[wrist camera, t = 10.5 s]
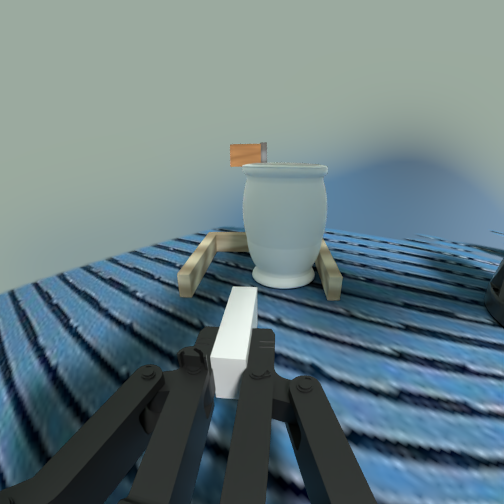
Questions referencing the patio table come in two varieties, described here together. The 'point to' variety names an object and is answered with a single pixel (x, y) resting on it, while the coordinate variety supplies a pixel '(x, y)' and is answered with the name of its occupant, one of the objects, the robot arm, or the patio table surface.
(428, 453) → the patio table surface
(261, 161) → the box
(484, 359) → the patio table surface
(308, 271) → the jar
